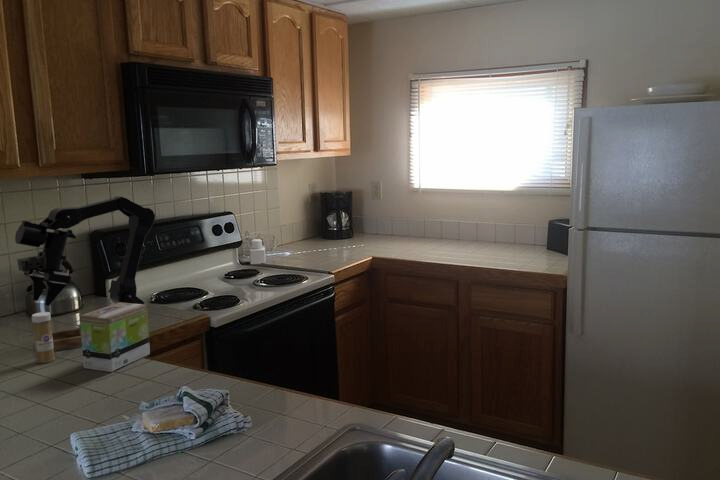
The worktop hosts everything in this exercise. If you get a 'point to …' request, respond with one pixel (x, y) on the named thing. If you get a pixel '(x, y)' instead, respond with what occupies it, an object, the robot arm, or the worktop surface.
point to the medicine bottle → (257, 251)
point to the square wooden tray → (67, 339)
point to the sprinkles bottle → (43, 337)
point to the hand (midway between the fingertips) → (41, 302)
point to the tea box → (114, 336)
